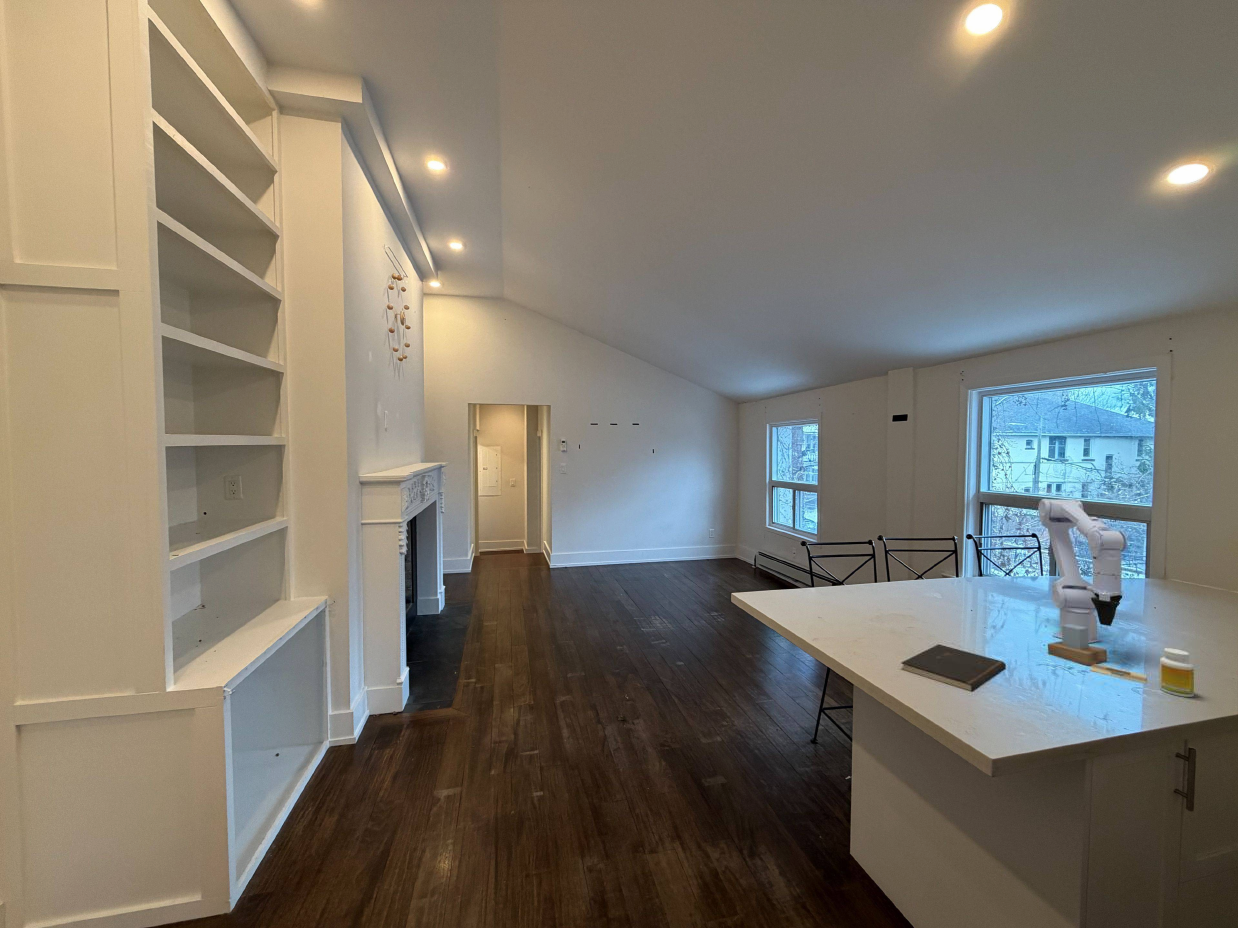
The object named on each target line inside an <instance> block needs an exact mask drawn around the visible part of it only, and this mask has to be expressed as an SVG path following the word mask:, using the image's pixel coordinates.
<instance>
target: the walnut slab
mask: <svg viewBox="0 0 1238 928" xmlns="http://www.w3.org/2000/svg"><path fill="white" fill-rule="evenodd" d="M1107 653H1108V651H1107V649H1104V648H1101V647H1097V646H1095V645H1089V648H1086V649H1081V650H1079V649H1075V648H1071V647H1067V646H1064V645H1063V641H1062V640H1060V641H1056V642H1050V643H1047V654H1048V655H1050V656H1052V657H1053V656H1054V657H1055V658H1056V657H1057V658H1060V659H1063V660H1067V661H1071V662H1073V663H1077V664H1081V665H1085V666H1092V664H1099V663H1103V662H1107V661H1108V654H1107Z"/></svg>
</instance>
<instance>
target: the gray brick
mask: <svg viewBox="0 0 1238 928" xmlns="http://www.w3.org/2000/svg"><path fill="white" fill-rule="evenodd" d="M1061 641H1063V645H1064V646H1067V647H1071V648H1075V649H1079V650H1081V649H1086V648H1089V646H1090V645H1089V644H1090V643H1089V640H1088V628H1086V627H1082V626H1077V625H1073V624H1068V625H1062V639H1061Z"/></svg>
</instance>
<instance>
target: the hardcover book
mask: <svg viewBox="0 0 1238 928" xmlns="http://www.w3.org/2000/svg"><path fill="white" fill-rule="evenodd" d="M900 664H901V665H902V669H903V670H904V671H907V672H910V673H914V674H917V675H920V676H923V677H926V678H929V679H932V680H934V681H938V682H940V683H941V682H942V683H944V684H948V685H951V686H954V687H957V688H961V689H964V690H965V691H970V692H973V691H976V690H977V689H979V688H981V686H983V685H984V684H986V683H987V682H988V681H990V680H991V679H992V678H994V677H996V676H997V675H999V674H1000V673H1001V672H1003V671H1004V670H1006V668H1007V665H1006V663H1005V662H1004V661H1003V660H1000V659H999V660H998V659H995V658H991V657H988V656H985V655H980V654H977V653H973V652H969V651H965V650H961V649H958V648H954V647H949V646H946V645H943V644H939V643H938V644H936V645H933V646H932V647H930V648H928V649H925V650H924V651H922V652H920V653H918V654H916V655H913V656H912V657H910V658H908V659H906V660H904V661H902V662H900Z"/></svg>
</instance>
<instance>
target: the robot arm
mask: <svg viewBox="0 0 1238 928" xmlns="http://www.w3.org/2000/svg"><path fill="white" fill-rule="evenodd" d="M1037 513H1038V517H1039V519H1040V523H1041V526H1042V527H1044V528H1046V529H1047V533H1048V536H1049V540H1050V543H1051V547H1052V552H1053V556H1054V559H1055V563H1056V568H1057V570H1058V573H1059V574H1058V575H1059V579H1057V580H1056V581H1054V582H1053V583H1052V585H1051V586H1050V588H1051V600H1052V602H1053V605H1055V606H1056V608H1058V609H1059V633H1055V634H1052V637H1055V638H1058V639H1061V640H1062V625H1068V624H1073V625H1077V626H1082V627H1086V628H1088V640H1089V644H1092V643H1096V642H1102V639H1101V638H1098V621H1099V624H1100V625H1101V626H1102V625H1103V626H1106V627H1111V626H1112V624H1113V621H1114V619H1115V617H1116V616H1115V615H1116V612H1117V608H1118V607H1119V605H1120V604H1121V602H1120V601H1121V600H1122V599H1123V590H1122V552H1124V551H1126V550H1127V546H1128V540H1127V536H1126V534H1125V533H1124V532H1123V531H1122V530H1118V529H1117V530H1115V529H1113V530H1112V529H1111V528H1110V527H1108V526H1107V525H1106V524H1104V523H1103V522H1102V521H1101V520H1100V519H1099V518H1098V517H1096V516H1089V515H1088V514H1087V513H1086V512H1085V511H1084V506H1083V503H1082V502H1081V501H1080V500H1079V499H1053V498H1052V499H1048V498H1042V499H1041V500H1039V503H1038V508H1037ZM1075 527H1076V530H1077V531H1078V532H1079V533H1080V534H1081V535H1082V536H1083V537H1085V539H1087V545H1088V547H1089V554H1090V556H1091V557H1092V583H1091V582H1090V581H1087V580H1085V579H1084V578H1083V577H1082V574H1081V572H1080V567H1079V565H1078V561H1077V558H1076V554H1075V550H1074V548H1073V547H1074V546H1073V543H1072V538H1071V536H1070V532H1069V530H1070V529H1074V528H1075ZM1095 612H1096V614H1097V616H1096V614H1095Z"/></svg>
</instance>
